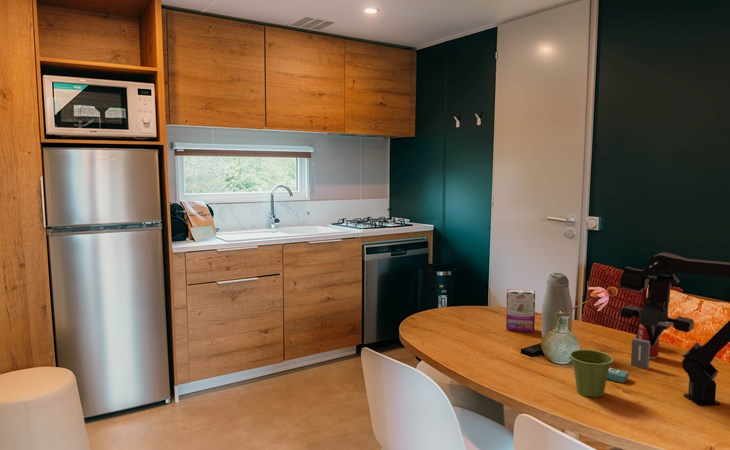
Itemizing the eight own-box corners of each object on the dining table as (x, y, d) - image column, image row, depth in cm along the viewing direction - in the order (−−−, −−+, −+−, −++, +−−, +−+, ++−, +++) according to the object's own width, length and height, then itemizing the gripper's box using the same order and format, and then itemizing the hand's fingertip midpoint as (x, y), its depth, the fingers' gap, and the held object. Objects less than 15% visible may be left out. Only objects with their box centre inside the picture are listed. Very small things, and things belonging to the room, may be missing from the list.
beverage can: (660, 360, 179) (662, 327, 178) (640, 359, 180) (642, 325, 179) (654, 354, 185) (656, 321, 184) (635, 353, 186) (637, 320, 185)
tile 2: (628, 371, 164) (598, 364, 170) (623, 376, 160) (593, 368, 166) (628, 378, 164) (598, 371, 170) (623, 383, 160) (593, 376, 166)
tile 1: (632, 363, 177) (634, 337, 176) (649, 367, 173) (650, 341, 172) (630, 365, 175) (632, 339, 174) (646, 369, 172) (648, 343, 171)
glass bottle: (576, 350, 190) (579, 274, 187) (554, 354, 186) (556, 277, 183) (557, 341, 199) (559, 269, 196) (535, 345, 195) (537, 272, 192)
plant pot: (575, 381, 162) (576, 346, 161) (616, 391, 155) (618, 355, 153) (562, 394, 153) (563, 357, 152) (605, 405, 146) (607, 367, 144)
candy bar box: (534, 329, 214) (535, 290, 213) (534, 332, 210) (535, 293, 208) (506, 326, 218) (507, 288, 216) (505, 330, 213) (506, 291, 211)
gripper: (615, 293, 155) (610, 343, 157) (686, 307, 142) (679, 362, 144) (628, 287, 163) (623, 334, 165) (697, 300, 150) (690, 352, 152)
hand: (652, 345), depth 156 cm, fingers closed
